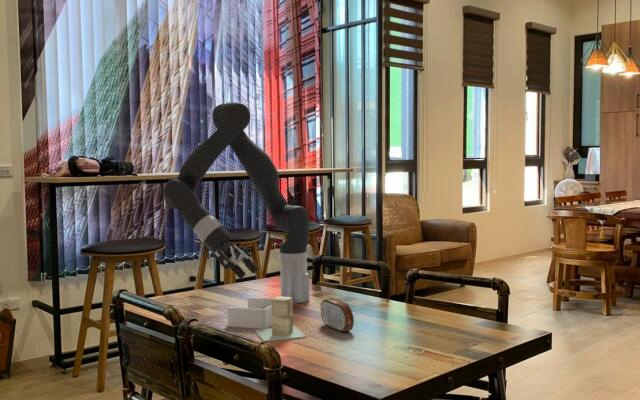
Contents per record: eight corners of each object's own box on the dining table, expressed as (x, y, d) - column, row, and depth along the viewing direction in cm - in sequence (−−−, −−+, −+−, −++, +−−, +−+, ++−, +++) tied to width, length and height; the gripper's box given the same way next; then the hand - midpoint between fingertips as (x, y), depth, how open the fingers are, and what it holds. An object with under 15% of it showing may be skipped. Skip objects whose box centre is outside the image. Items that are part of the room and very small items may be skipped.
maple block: (278, 330, 193) (277, 296, 192) (293, 331, 191) (292, 297, 190) (272, 334, 188) (271, 299, 188) (287, 335, 187) (286, 300, 186)
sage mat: (294, 327, 198) (294, 325, 198) (305, 337, 186) (305, 336, 186) (254, 331, 194) (254, 329, 194) (263, 342, 183) (263, 340, 183)
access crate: (226, 327, 201) (225, 307, 200) (247, 315, 215) (247, 297, 215) (266, 330, 197) (265, 309, 196) (285, 317, 211) (284, 299, 210)
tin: (354, 333, 189) (354, 304, 189) (345, 335, 188) (344, 305, 187) (328, 322, 202) (327, 295, 202) (319, 324, 201) (318, 296, 200)
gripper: (208, 227, 187) (247, 269, 185) (231, 222, 201) (267, 261, 198) (192, 246, 190) (230, 287, 187) (216, 239, 203) (252, 278, 200)
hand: (249, 273), depth 192 cm, fingers open, 8 cm apart
